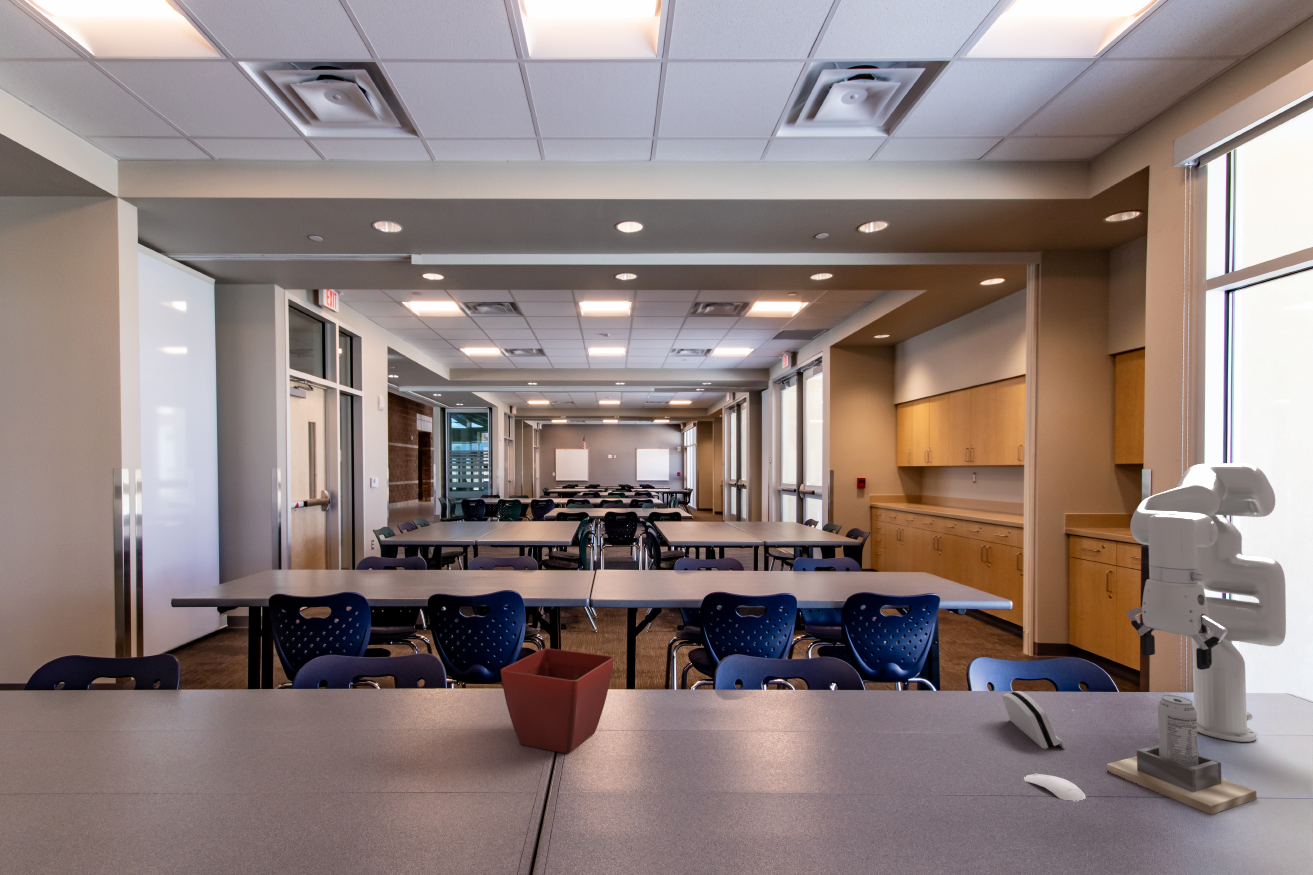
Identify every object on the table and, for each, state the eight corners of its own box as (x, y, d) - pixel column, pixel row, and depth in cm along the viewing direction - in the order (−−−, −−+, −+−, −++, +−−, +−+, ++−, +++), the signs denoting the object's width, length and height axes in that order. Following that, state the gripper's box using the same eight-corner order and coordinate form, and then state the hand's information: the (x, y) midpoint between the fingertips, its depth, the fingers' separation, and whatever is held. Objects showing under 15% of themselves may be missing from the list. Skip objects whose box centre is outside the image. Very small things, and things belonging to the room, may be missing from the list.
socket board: (1151, 759, 139) (1150, 733, 139) (1256, 798, 122) (1255, 768, 122) (1107, 771, 133) (1106, 743, 133) (1211, 814, 116) (1210, 783, 116)
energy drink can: (1192, 773, 129) (1190, 696, 130) (1203, 786, 123) (1201, 706, 124) (1155, 766, 131) (1153, 692, 132) (1164, 779, 126) (1162, 701, 127)
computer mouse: (1037, 772, 133) (1037, 761, 133) (1095, 801, 121) (1095, 788, 122) (1013, 778, 130) (1013, 766, 130) (1070, 807, 119) (1070, 794, 119)
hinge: (1066, 749, 143) (1050, 705, 144) (1045, 755, 143) (1029, 711, 144) (1030, 720, 159) (1015, 681, 160) (1011, 726, 160) (997, 686, 161)
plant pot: (495, 747, 139) (498, 668, 140) (543, 717, 157) (545, 646, 158) (573, 764, 132) (575, 680, 133) (614, 730, 150) (615, 656, 151)
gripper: (1235, 581, 124) (1238, 671, 123) (1137, 568, 140) (1139, 648, 139) (1213, 584, 121) (1216, 676, 120) (1116, 570, 137) (1118, 652, 136)
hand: (1175, 661), depth 130 cm, fingers open, 9 cm apart
